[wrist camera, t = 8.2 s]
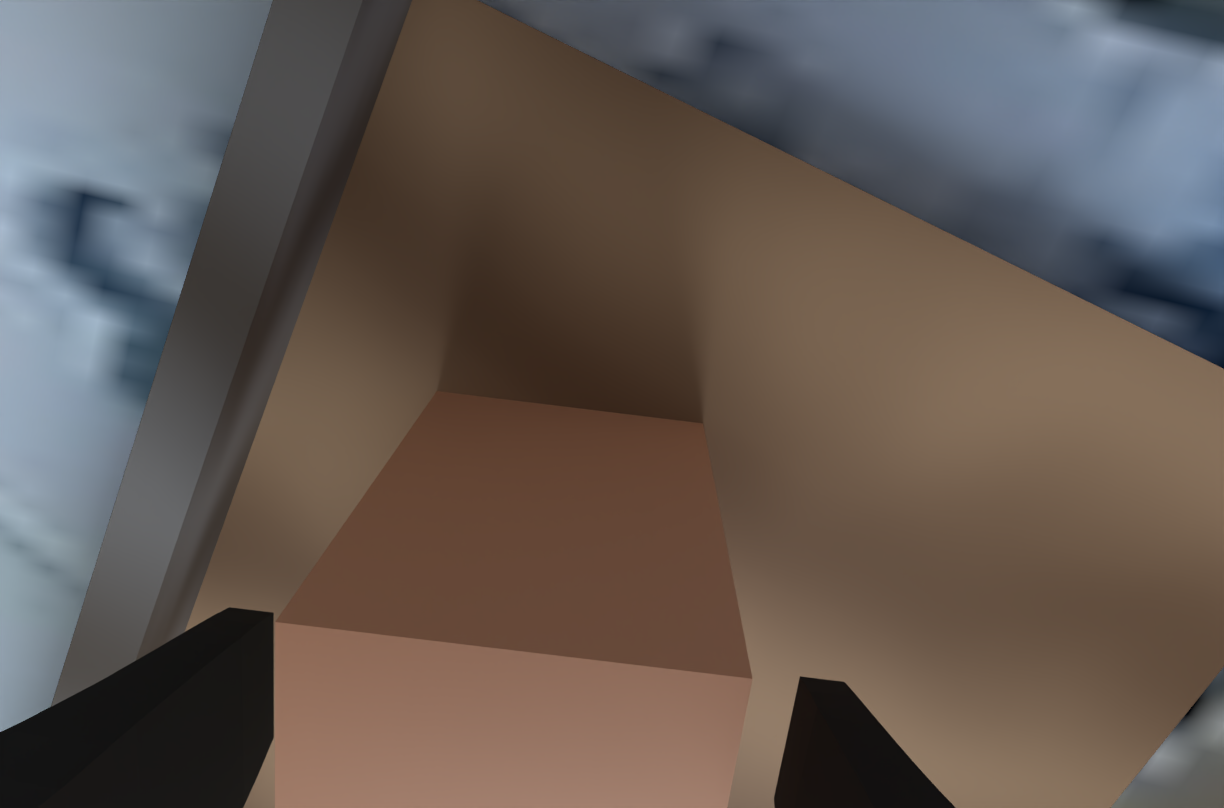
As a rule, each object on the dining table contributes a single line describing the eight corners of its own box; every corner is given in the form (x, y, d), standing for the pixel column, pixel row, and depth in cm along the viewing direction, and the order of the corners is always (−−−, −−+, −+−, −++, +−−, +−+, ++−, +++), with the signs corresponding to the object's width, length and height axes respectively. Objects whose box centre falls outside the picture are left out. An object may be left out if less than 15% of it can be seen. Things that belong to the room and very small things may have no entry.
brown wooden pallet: (372, -50, 14) (292, -95, 11) (1341, 428, 16) (1518, 511, 13) (36, 932, 21) (-75, 1087, 17) (753, 1187, 23) (772, 1369, 19)
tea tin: (703, 423, 15) (752, 678, 8) (652, 744, 17) (659, 1154, 10) (433, 390, 15) (269, 621, 8) (414, 716, 17) (269, 1110, 10)
